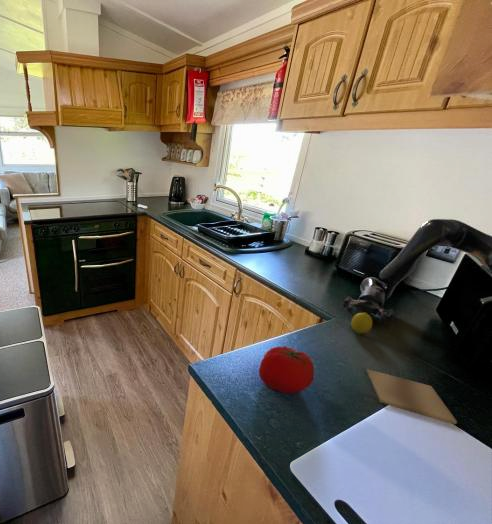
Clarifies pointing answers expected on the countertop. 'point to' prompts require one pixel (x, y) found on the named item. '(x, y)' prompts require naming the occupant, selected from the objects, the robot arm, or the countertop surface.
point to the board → (409, 396)
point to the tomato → (286, 370)
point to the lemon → (361, 323)
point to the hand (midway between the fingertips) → (364, 315)
